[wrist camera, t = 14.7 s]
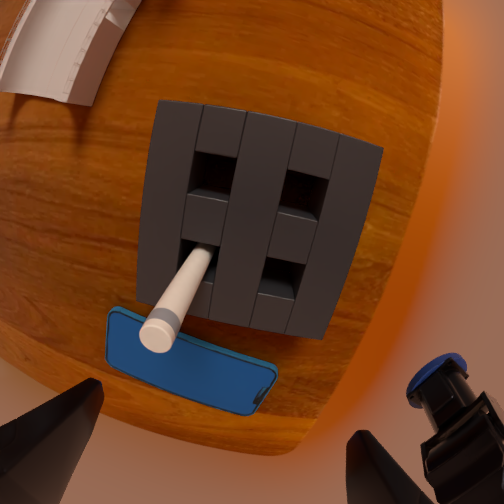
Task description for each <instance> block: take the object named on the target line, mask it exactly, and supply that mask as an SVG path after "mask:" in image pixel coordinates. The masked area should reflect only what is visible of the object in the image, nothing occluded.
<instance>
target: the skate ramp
mask: <svg viewBox="0 0 504 504" xmlns="http://www.w3.org/2000/svg"><path fill="white" fill-rule="evenodd" d="M26 1H27V0H26ZM29 1H30V0H29ZM141 1H142V0H31V2H30V4H29V6H28V7H27V9H26V7H25V9H26V11H25V13H24V15H23V17H22V19H21V18H20V19H21V21H20V22H19V24H18V27H17V29H16V30H15V33H14V35H13V37H12V39H9V40H8V41H10V40H11V42H10V44H9V46H8V49H7V50H6V49H5V50H6V54H5V56H4V59H3V61H1V62H2V64H1V67H0V92H13V93H22V94H29V95H36V96H41V97H47V98H53V99H55V100H58V101H60V102H65V103H72V104H78V105H85V106H91V107H92V104H93V101H94V98H95V96H96V93H97V90H98V88H99V85H100V83H101V80H102V78H103V75H104V73H105V71H106V68H107V66H108V64H109V61H110V59H111V57H112V55H113V53H114V50H115V48H116V46H117V44H118V42H119V40H120V38H121V36H122V34H123V32H124V31H125V29H126V27H127V25H128V23H129V21H130V20H131V18H132V16H133V14H134V13H135V11H136V9H137V7H138V6H139V4H140V2H141ZM25 3H26V2H25ZM28 3H29V2H28ZM24 5H25V4H24ZM26 6H27V5H26ZM23 8H24V7H23ZM25 9H24V10H25ZM21 10H22V9H21ZM82 10H83V11H82ZM20 12H21V11H20ZM23 12H24V11H23ZM19 14H20V13H19ZM18 16H19V15H18ZM17 18H18V17H17ZM77 19H78V20H77ZM18 21H19V19H18ZM76 21H77V22H76ZM17 23H18V22H17ZM16 25H17V24H16ZM13 26H14V25H13ZM12 28H13V27H12ZM13 29H14V28H13ZM13 29H11V30H13ZM10 32H11V31H10ZM9 34H10V33H9ZM12 34H13V33H12ZM8 36H9V35H8ZM11 36H12V35H11ZM10 38H11V37H10ZM6 41H7V40H6ZM66 41H67V42H66ZM5 43H6V42H5ZM65 43H66V44H65ZM4 45H5V44H4ZM7 45H8V44H7ZM6 47H7V46H6ZM3 48H4V47H3ZM2 50H3V49H2ZM3 52H5V51H3ZM61 52H62V53H61ZM60 54H61V55H60ZM0 55H1V54H0ZM3 55H4V54H3ZM2 57H3V56H2ZM58 59H59V60H58ZM1 60H2V59H1ZM1 62H0V63H1ZM55 66H56V67H55ZM52 74H53V75H52ZM50 79H51V80H50ZM49 82H50V83H49Z"/></svg>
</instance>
